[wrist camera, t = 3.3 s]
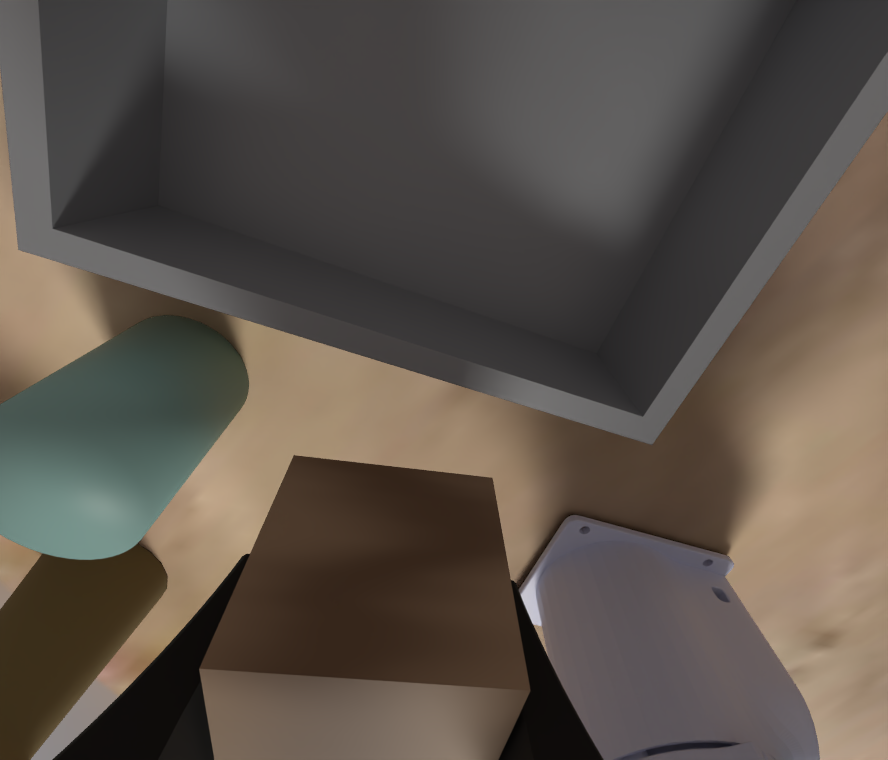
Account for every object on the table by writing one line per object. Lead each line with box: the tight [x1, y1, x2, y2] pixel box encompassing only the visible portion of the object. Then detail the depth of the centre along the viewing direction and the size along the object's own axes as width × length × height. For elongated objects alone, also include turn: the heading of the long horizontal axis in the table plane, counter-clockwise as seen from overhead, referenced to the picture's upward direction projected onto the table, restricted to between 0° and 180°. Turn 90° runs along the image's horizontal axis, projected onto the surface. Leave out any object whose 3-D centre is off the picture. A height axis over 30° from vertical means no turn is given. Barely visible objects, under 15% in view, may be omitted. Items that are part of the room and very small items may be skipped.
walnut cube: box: [199, 455, 530, 760], centre depth 10 cm, size 5×5×5 cm
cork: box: [0, 544, 167, 760], centre depth 19 cm, size 6×6×11 cm
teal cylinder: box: [0, 315, 249, 560], centre depth 15 cm, size 5×5×7 cm
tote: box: [0, 0, 888, 445], centre depth 11 cm, size 18×14×5 cm
